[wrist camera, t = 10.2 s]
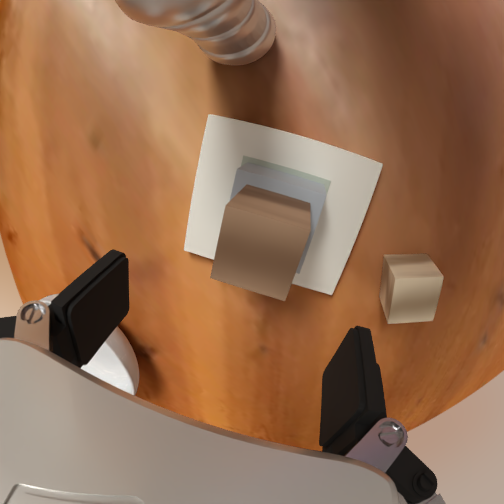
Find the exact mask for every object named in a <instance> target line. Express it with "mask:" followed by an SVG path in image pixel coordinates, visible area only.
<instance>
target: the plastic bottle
mask: <svg viewBox="0 0 504 504" xmlns="http://www.w3.org/2000/svg"><path fill="white" fill-rule="evenodd" d="M115 1H116V3H117V4H118V6H119V7H120V8H121V10H122V11H123V12H124V13H125V14H126V15H127V16H128V17H129V18H131V19H132V20H135V21H137V22H140V23H143V24H146V25H149V26H155V27H159V28H164V29H168V30H173V31H177V32H179V33H181V34H183V35H185V36H188V37H190V38H191V39H192V40H194V41H195V42H196V43H197V44H198V46H199V47H200V49H201V50H202V51H203V52H204V54H205V55H206V56H208V57H209V58H210V59H212V60H213V61H215V62H218V63H221V64H226V65H245V64H249V63H251V62H254V61H256V60H258V59H260V58H261V57H262V56H264V55H265V54H266V53H267V52H268V50H269V49H270V48H271V46H272V44H273V42H274V39H275V34H276V24H275V20H274V18H273V16H272V14H271V13H270V12H269V10H268V9H267V8H266V7H265V6H264V5H263V4H261V3H260V2H259V1H258V0H115Z"/></svg>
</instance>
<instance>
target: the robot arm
mask: <svg viewBox="0 0 504 504" xmlns="http://www.w3.org/2000/svg"><path fill="white" fill-rule="evenodd" d="M128 311H129V271H128V258H126V255H125V254H124V253H122V252H119V251H116V250H111V251H109V252H108V253H107V254H106V255H104V256H103V257H102V258H101V259H99V260H98V261H97V262H96V263H95V264H93V265H92V266H91V267H90V268H88V269H87V270H86V271H85V272H84V273H83V274H81V275H80V276H79V277H78V278H77V279H76V280H74V281H73V282H72V283H71V284H70V285H69V286H67V287H66V288H65V289H64V290H63V291H62V292H61V293H60V294H58V295H57V296H56V297H55V298H54V299H53V300H52V301H51V304H50V305H49V306H47V305H46V304H45V303H44V302H41V301H30V302H27V303H25V304H24V305H22V306H21V307H20V309H19V310H18V313H17V316H11V317H4V318H0V504H445V502H444V500H443V498H442V496H441V495H440V494H438V495H437V494H436V493H435V491H436V489H437V479H436V476H435V474H434V473H433V472H432V471H431V470H430V469H429V468H428V467H427V466H426V465H425V464H424V463H423V462H422V461H421V460H420V459H419V458H418V457H417V456H416V455H415V454H413V453H412V452H411V451H410V450H409V449H408V448H407V447H406V446H405V445H406V443H407V438H408V436H407V431H406V429H405V427H404V426H403V425H402V424H401V423H400V422H399V421H397V420H396V419H393V418H387V415H386V407H385V399H384V392H383V385H382V378H381V372H380V367H379V365H378V364H377V363H376V358H375V352H374V346H373V341H372V335H371V331H370V329H368V328H364V327H360V326H356V327H355V328H350V330H349V331H348V333H347V335H346V336H345V338H344V340H343V341H342V343H341V345H340V346H339V348H338V350H337V351H336V353H335V354H334V356H333V358H332V359H331V361H330V362H329V364H328V366H327V367H326V369H325V371H324V373H323V378H322V404H321V423H320V438H319V445H320V446H323V450H322V452H321V451H315V450H309V449H304V448H299V447H294V446H289V445H284V444H280V443H275V442H271V441H266V440H262V439H258V438H254V437H250V436H246V435H243V434H239V433H235V432H232V431H228V430H225V429H222V428H219V427H215V426H212V425H209V424H206V423H203V422H200V421H197V420H194V419H191V418H189V417H186V416H183V415H180V414H178V413H175V412H172V411H170V410H167V409H165V408H162V407H160V406H157V405H155V404H153V403H150V402H148V401H145V400H143V399H141V398H139V397H136V396H134V395H132V394H130V393H128V392H125V391H123V390H121V389H119V388H117V387H115V386H113V385H111V384H109V383H107V382H105V381H103V380H101V379H99V378H97V377H95V376H94V375H92V374H90V373H88V372H86V371H84V370H82V369H81V367H82V366H83V365H87V364H88V363H89V361H90V360H91V359H92V358H93V356H94V355H95V354H96V352H97V351H98V350H99V349H100V347H101V346H102V345H103V343H104V342H105V341H106V340H107V338H108V337H109V336H110V335H111V333H112V332H113V331H114V330H115V328H116V327H117V326H118V325H119V323H120V322H121V321H122V320H123V319H124V317H125V316H126V315H127V313H128Z"/></svg>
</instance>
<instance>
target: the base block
mask: <svg viewBox="0 0 504 504" xmlns="http://www.w3.org/2000/svg"><path fill="white" fill-rule="evenodd" d="M246 184H248V185H251V186H255V187H259V188H262V189H265V190H269V191H272V192H276V193H279V194H282V195H286V196H289V197H292V198H296V199H299V200H302V201H305V202H308V203H310V217H311V231H310V234H309V237H308V240H307V243H306V245H305V248H304V251H303V254H302V257H301V259H300V262H299V265H298V268H297V270H296V273H298V274H300V271H301V268H302V265H303V263H304V260H305V257H306V254H307V252H308V249H309V246H310V243H311V240H312V237H313V234H314V232H315V229H316V226H317V223H318V220H319V217H320V214H321V211H322V208H323V205H324V202H325V199H326V196H327V194H326V190H325V186H324V184H321V183H318V182H315V181H311V180H308V179H305V178H302V177H298V176H295V175H292V174H288V173H285V172H281V171H278V170H274V169H271V168H267V167H263V166H260V165H256V164H252V163H248V162H247V163H246V164H244V165H242V166H241V167H239V168H238V169H237V171H236V175H235V179H234V184H233V188H232V193H231V197H230V200H231V199H232V198H233V197H234V196H235V195H236V194H237V193H238V192H239V191H240V190H241V189H242V188H243V187H244V186H245V185H246Z"/></svg>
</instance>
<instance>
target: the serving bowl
mask: <svg viewBox="0 0 504 504" xmlns="http://www.w3.org/2000/svg"><path fill="white" fill-rule="evenodd" d="M57 295H58V294H54V295H50V296H47V297H45V298H43V299H41V300H39V301H41V302H44V303H45V304H46V305H47V306H49V305H50V304H51V301H52V300H53V299H54V298H55V297H56V296H57ZM81 369H82V370H84V371H86V372H88V373H90V374H92V375H94V376H95V377H97V378H99V379H101V380H103V381H105V382H107V383H109V384H111V385H113V386H115V387H117V388H119V389H121V390H123V391H125V392H128V393H130V394H132V395H134V396H135V394H136V392H137V388H138V384H139V367H138V362H137V359H136V356H135V353H134V351H133V348H132V346H131V345H130V343H129V341H128V339H127V338H126V336H125V335H124V334H123V332H122V331H121V330H120V328H119V327H118V326H117V327H116V328H115V330H114V331H113V332H112V333H111V335H110V336H109V337H108V338H107V340H106V341H105V342H104V343H103V345H102V346H101V347H100V349H99V350H98V351H97V352H96V354H95V355H94V356H93V358H92V359H91V360H90V361H89V363H88V364H87V365H83V366H82V367H81Z"/></svg>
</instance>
